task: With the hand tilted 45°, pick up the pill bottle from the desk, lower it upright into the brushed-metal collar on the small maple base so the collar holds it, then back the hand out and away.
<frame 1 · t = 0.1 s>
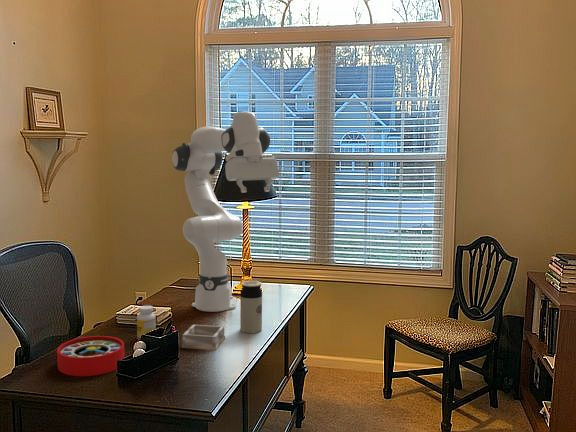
hand: (255, 191, 213), 52 cm above the table, tool tilted 20°, fingers open, 8 cm apart
travel mug: (251, 330, 223), on the table
collar stand: (203, 343, 208), on the table
pill bottle: (146, 339, 212), on the table
toy clock: (91, 364, 189), on the table
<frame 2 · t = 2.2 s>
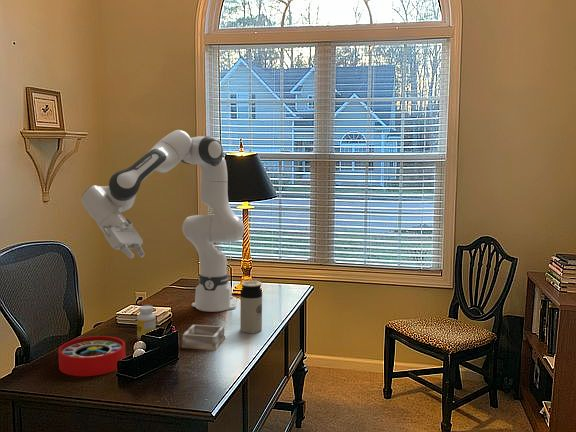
hand: (137, 256, 209), 29 cm above the table, tool tilted 40°, fingers open, 8 cm apart
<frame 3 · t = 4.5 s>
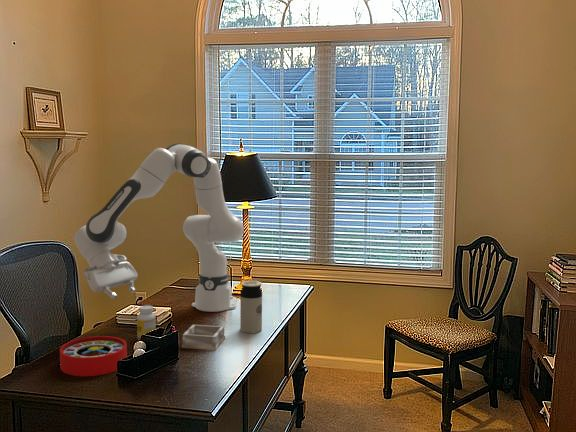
hand: (124, 294, 215), 15 cm above the table, tool tilted 45°, fingers open, 8 cm apart
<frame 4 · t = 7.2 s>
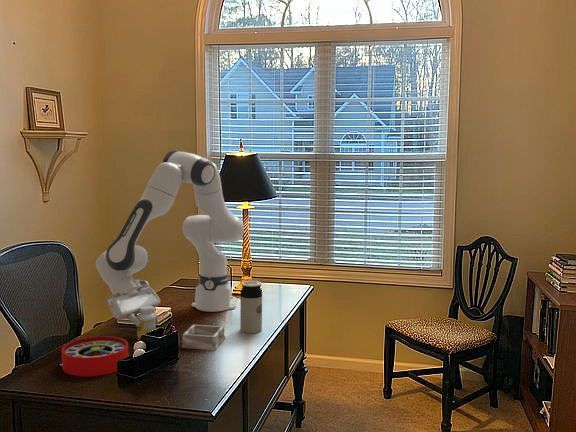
hand: (147, 321, 211), 6 cm above the table, tool tilted 45°, fingers closed on pill bottle, 6 cm apart
pill bottle: (146, 339, 212), on the table, touching gripper
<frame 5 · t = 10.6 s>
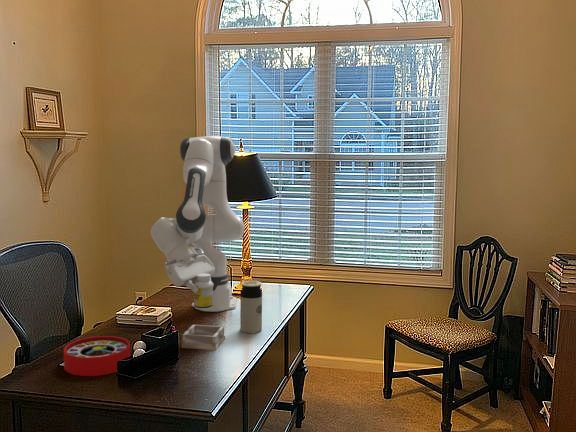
hand: (204, 289, 206), 19 cm above the table, tool tilted 45°, fingers closed on pill bottle, 6 cm apart
pill bottle: (203, 308, 207), point 12 cm above the table, touching gripper
when the fingers open (9 cm above the table, at t = 13.7 s): pill bottle drops 1 cm, resting on collar stand.
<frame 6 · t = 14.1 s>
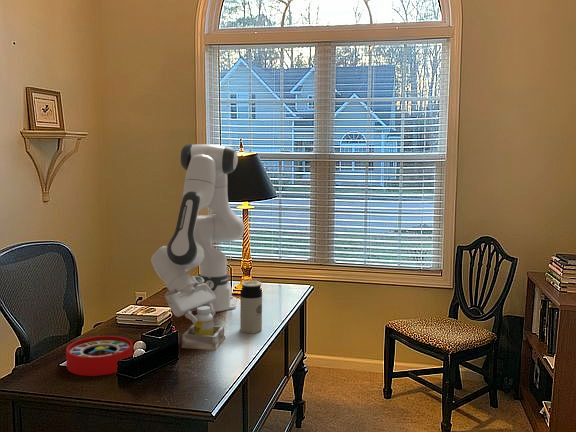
hand: (205, 318, 207), 9 cm above the table, tool tilted 45°, fingers open, 8 cm apart
pill bottle: (203, 340, 208), point 1 cm above the table, touching collar stand
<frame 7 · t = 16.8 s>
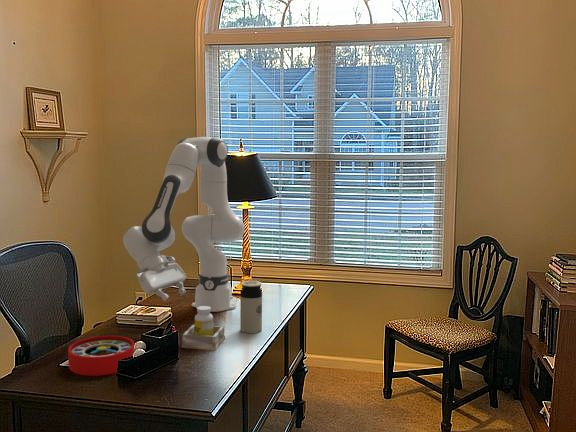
hand: (175, 296, 212), 15 cm above the table, tool tilted 45°, fingers open, 8 cm apart
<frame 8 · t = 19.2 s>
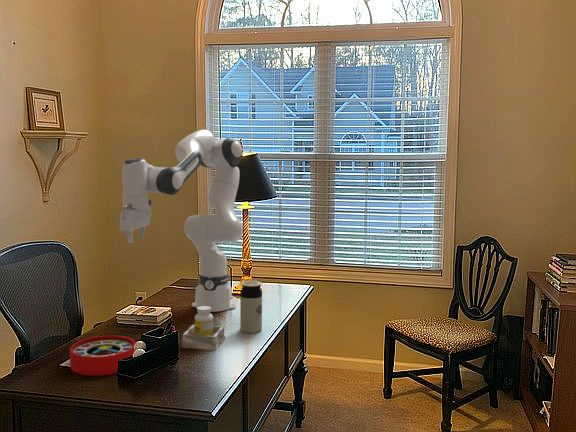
hand: (135, 240, 219), 33 cm above the table, tool pointing down, fingers open, 8 cm apart
at the end: pill bottle 0.1 cm off-centre on the collar stand, point 0.8 cm above the collar stand's base; pill bottle tilted 0°; the gripper is holding nothing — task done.
